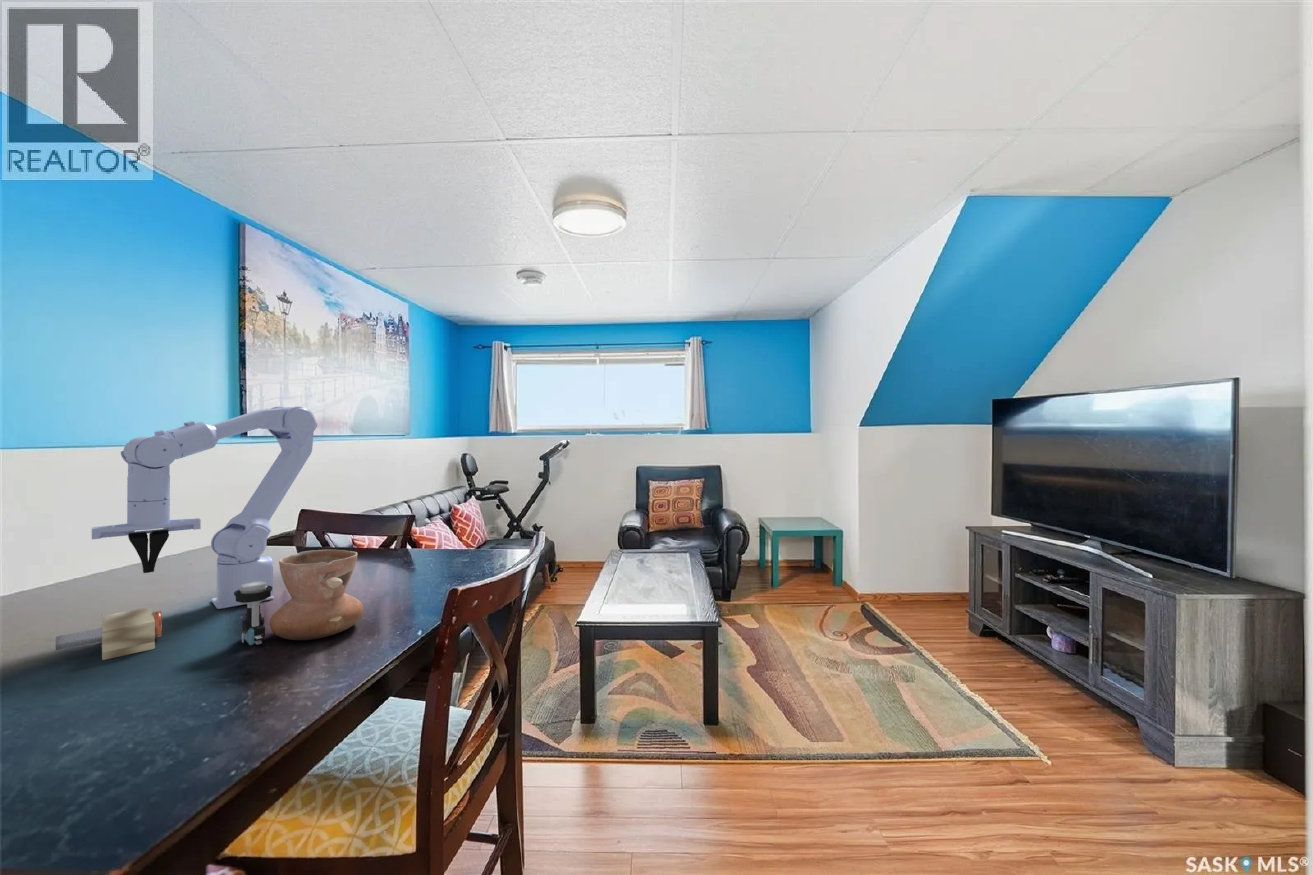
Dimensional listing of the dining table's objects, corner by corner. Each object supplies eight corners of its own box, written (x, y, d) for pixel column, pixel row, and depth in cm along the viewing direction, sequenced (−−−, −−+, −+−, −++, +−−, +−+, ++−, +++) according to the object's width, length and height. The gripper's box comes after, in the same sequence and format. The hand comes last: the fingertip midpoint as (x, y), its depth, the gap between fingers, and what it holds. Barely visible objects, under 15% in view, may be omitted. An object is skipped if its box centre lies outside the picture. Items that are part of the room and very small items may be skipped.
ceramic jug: (378, 632, 94) (380, 555, 95) (285, 657, 83) (286, 570, 83) (342, 611, 106) (343, 542, 106) (255, 630, 95) (257, 554, 95)
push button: (277, 642, 89) (278, 585, 89) (238, 652, 85) (239, 592, 85) (267, 632, 94) (268, 578, 94) (230, 640, 90) (231, 584, 89)
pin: (159, 632, 92) (159, 607, 91) (161, 639, 89) (162, 614, 89) (56, 653, 83) (56, 625, 83) (55, 661, 80) (55, 633, 80)
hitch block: (150, 632, 93) (150, 607, 93) (154, 648, 86) (154, 621, 86) (101, 642, 88) (101, 615, 88) (102, 660, 81) (102, 631, 81)
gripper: (197, 494, 104) (196, 560, 105) (91, 501, 94) (91, 574, 94) (202, 498, 100) (201, 567, 100) (91, 505, 89) (91, 582, 89)
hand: (148, 571), depth 97 cm, fingers closed
